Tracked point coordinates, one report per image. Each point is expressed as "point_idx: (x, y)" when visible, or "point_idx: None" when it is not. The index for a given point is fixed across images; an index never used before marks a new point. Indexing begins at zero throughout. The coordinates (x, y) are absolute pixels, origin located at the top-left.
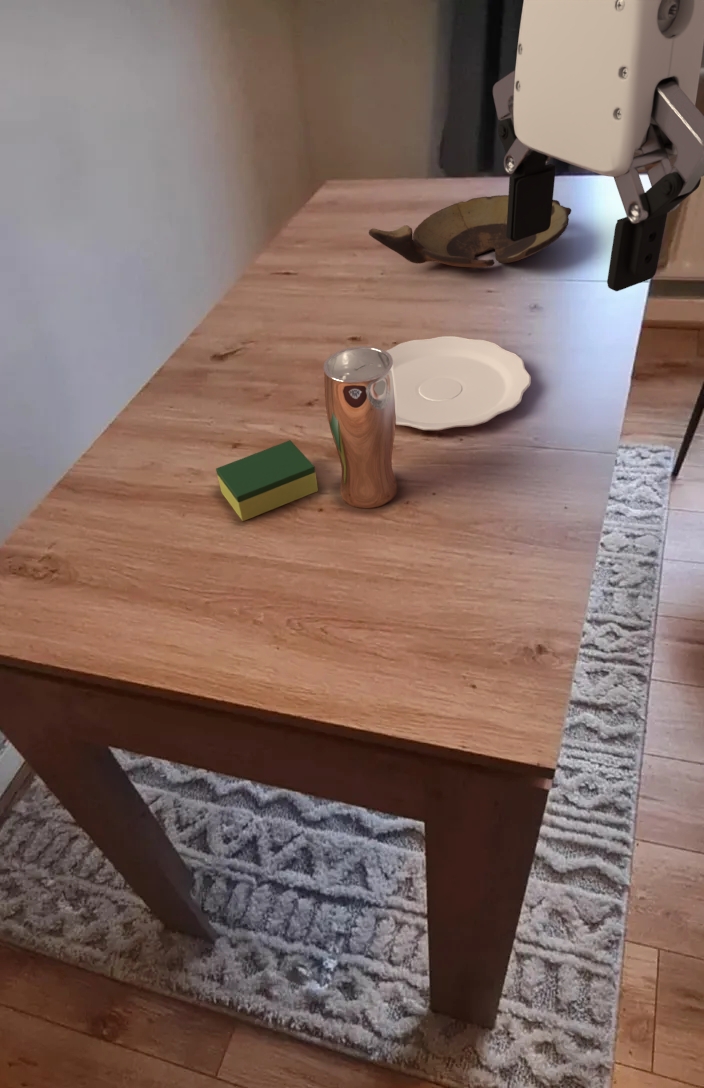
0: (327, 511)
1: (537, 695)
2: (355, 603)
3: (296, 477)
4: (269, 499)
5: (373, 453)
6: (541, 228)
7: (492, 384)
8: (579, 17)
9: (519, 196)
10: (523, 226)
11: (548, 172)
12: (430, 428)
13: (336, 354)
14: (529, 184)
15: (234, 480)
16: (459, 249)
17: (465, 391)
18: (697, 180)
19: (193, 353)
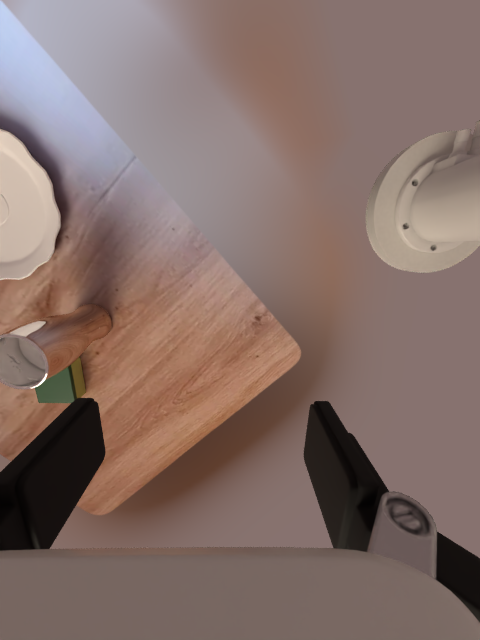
0: (100, 350)
1: (278, 336)
2: (180, 373)
3: (70, 365)
4: (78, 379)
5: (89, 340)
6: (96, 417)
7: (1, 163)
8: None
9: (64, 518)
10: (93, 456)
11: (29, 496)
12: (50, 256)
13: None
14: (48, 520)
15: (57, 398)
16: None
17: (2, 191)
18: None
19: None
